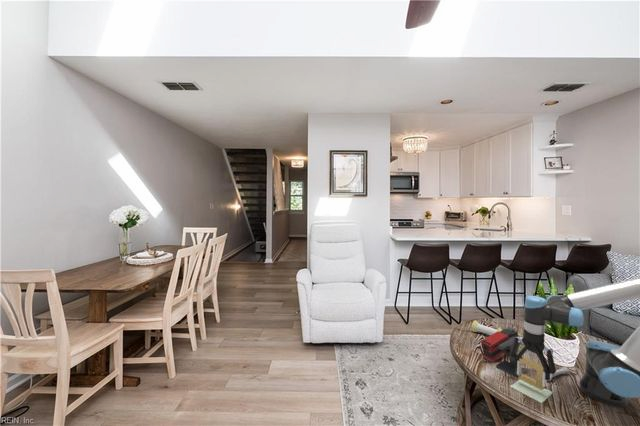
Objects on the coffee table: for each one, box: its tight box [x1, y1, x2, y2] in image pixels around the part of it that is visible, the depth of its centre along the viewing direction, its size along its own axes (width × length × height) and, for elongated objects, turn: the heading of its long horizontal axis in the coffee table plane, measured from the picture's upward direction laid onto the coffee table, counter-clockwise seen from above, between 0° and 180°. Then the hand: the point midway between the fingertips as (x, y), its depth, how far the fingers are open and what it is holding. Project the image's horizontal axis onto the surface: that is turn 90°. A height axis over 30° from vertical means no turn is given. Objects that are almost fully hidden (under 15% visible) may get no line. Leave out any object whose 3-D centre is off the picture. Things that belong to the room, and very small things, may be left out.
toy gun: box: [480, 326, 519, 364], centre depth 151 cm, size 5×24×15 cm, turn 112°
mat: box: [509, 378, 554, 404], centre depth 125 cm, size 12×12×1 cm
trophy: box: [471, 319, 525, 350], centre depth 170 cm, size 8×8×30 cm
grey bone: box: [547, 366, 571, 382], centre depth 134 cm, size 18×5×4 cm
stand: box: [495, 336, 528, 379], centre depth 137 cm, size 10×17×16 cm, turn 122°
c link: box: [518, 356, 545, 390], centre depth 124 cm, size 9×2×10 cm, turn 32°
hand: (531, 379), depth 124 cm, fingers closed on c link, 9 cm apart
